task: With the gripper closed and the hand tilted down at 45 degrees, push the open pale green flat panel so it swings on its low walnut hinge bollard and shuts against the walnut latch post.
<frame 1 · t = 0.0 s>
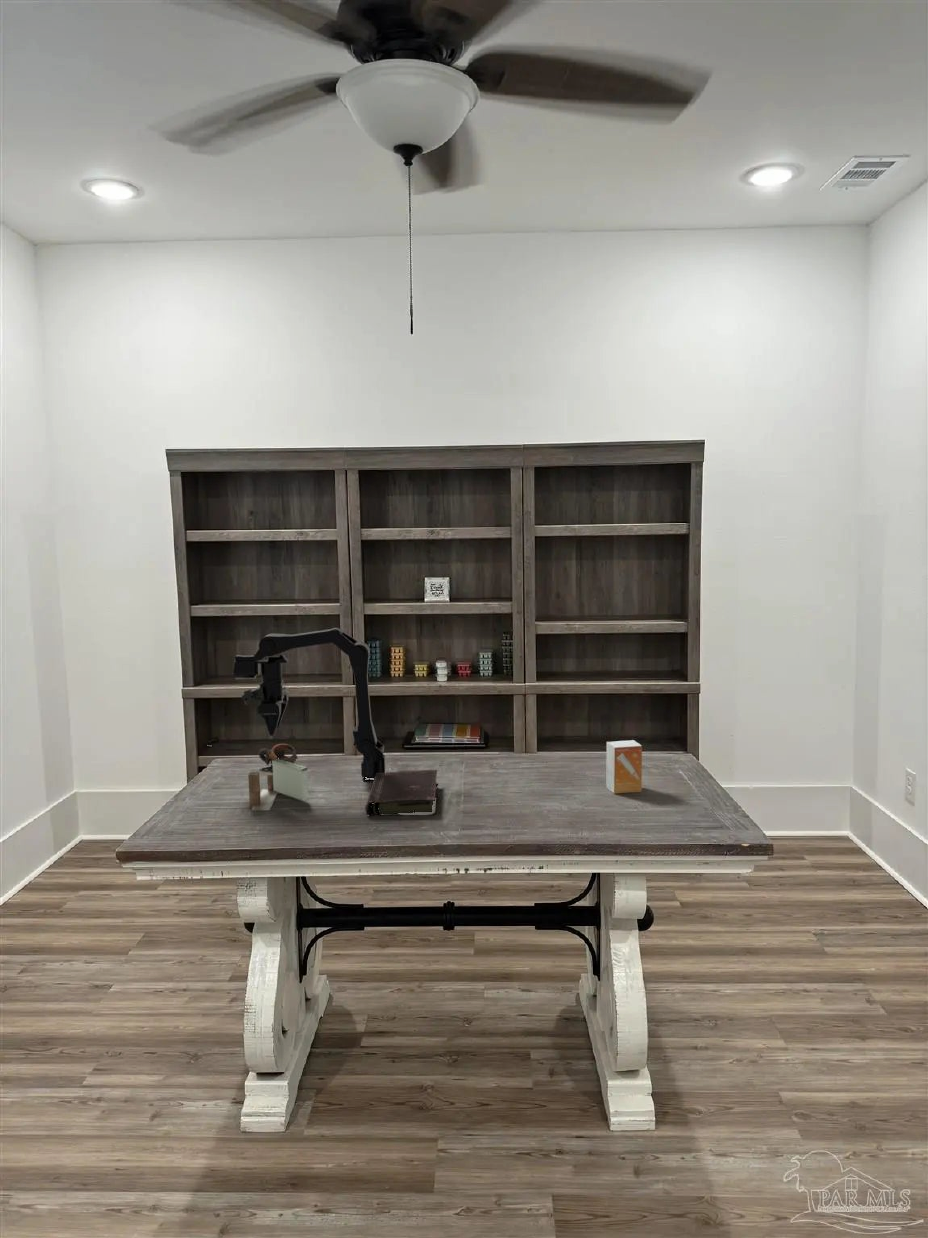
hand: (274, 731, 250), 15 cm above the table, tool pointing down, fingers open, 9 cm apart
small box: (623, 790, 239), on the table
gate frame: (272, 791, 242), on the table
brown looped band: (278, 768, 266), on the table
pale green flat panel: (290, 779, 236), point 5 cm above the table, hinge at 45.0°
diary: (404, 802, 233), on the table
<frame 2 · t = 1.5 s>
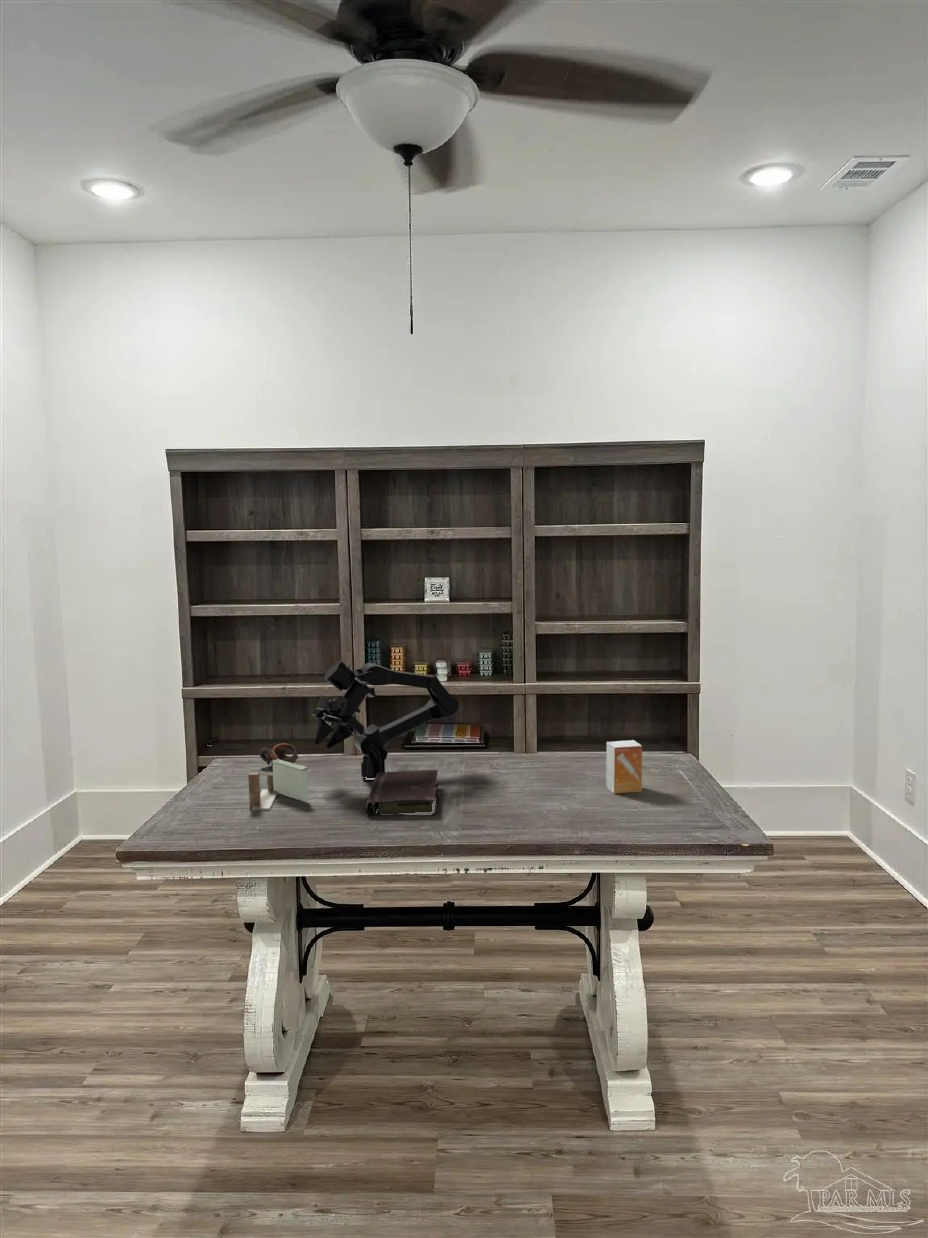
hand: (320, 746, 242), 13 cm above the table, tool tilted 45°, fingers open, 5 cm apart
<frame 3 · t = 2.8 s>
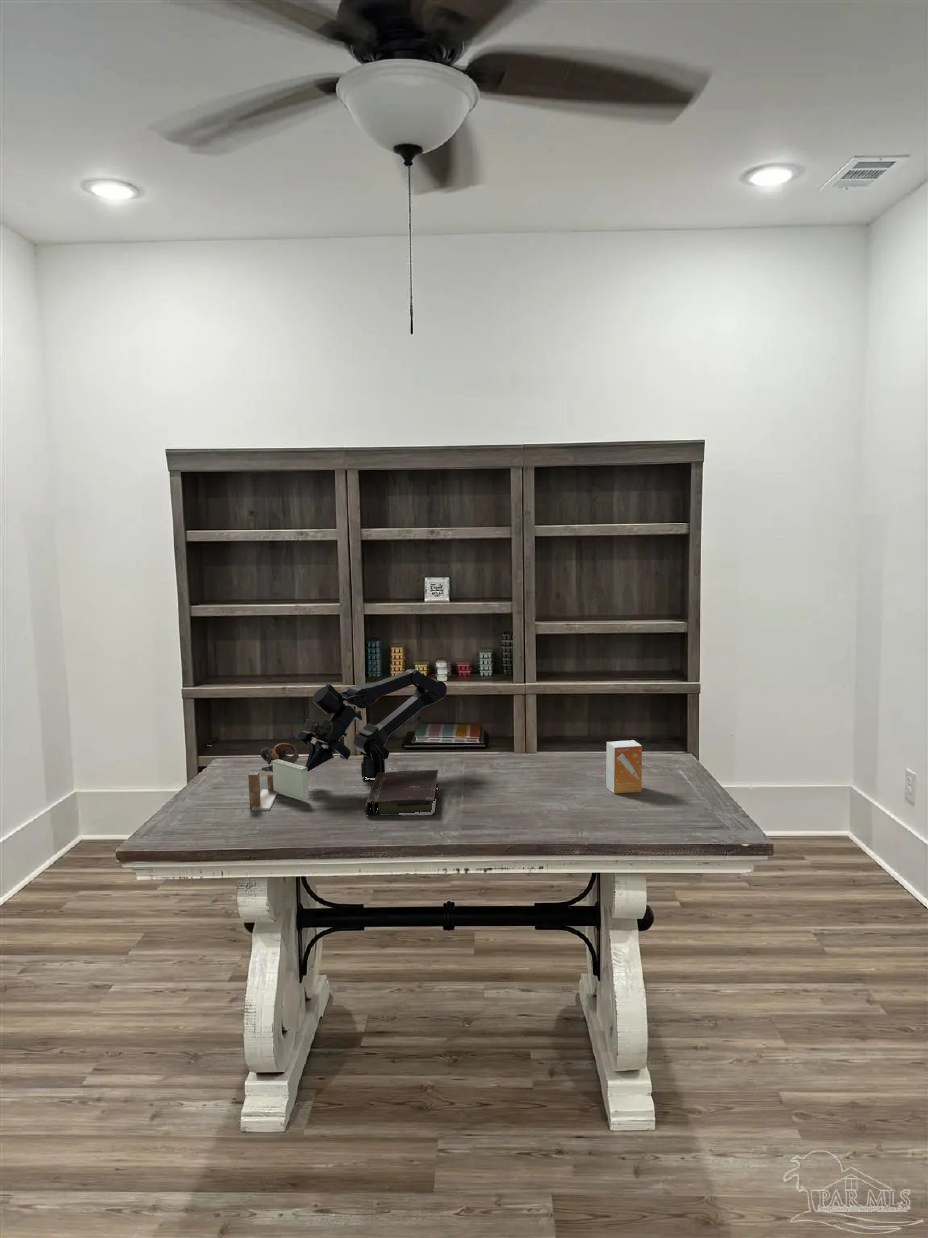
hand: (306, 770, 239), 7 cm above the table, tool tilted 45°, fingers closed
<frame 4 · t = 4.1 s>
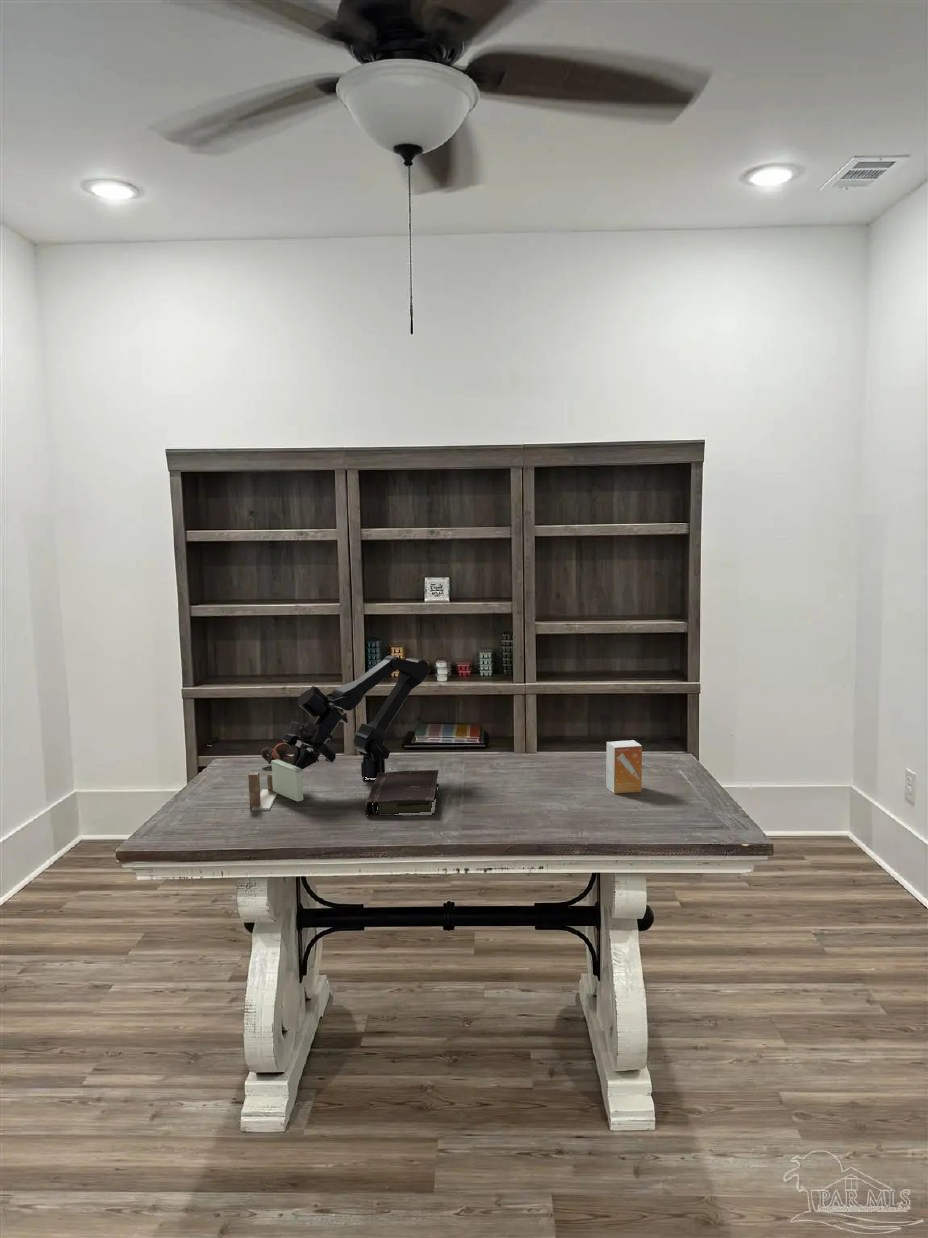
hand: (291, 774, 236), 7 cm above the table, tool tilted 45°, fingers closed, pressing on pale green flat panel
pale green flat panel: (287, 780, 235), point 5 cm above the table, hinge at 38.4°, touching gripper
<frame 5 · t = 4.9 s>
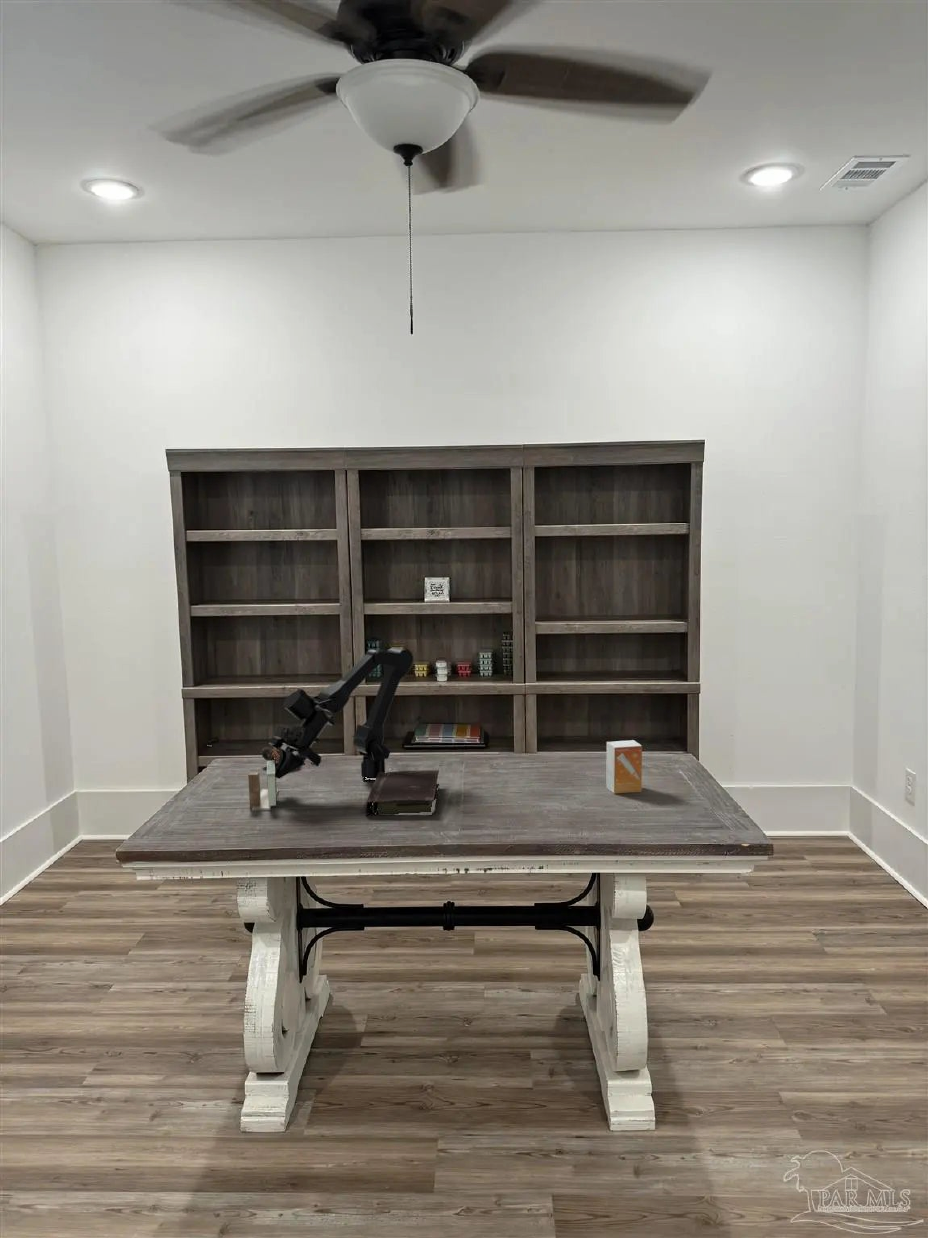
hand: (276, 777, 233), 7 cm above the table, tool tilted 45°, fingers closed
pale green flat panel: (271, 782, 233), point 5 cm above the table, hinge at 9.3°, touching gripper
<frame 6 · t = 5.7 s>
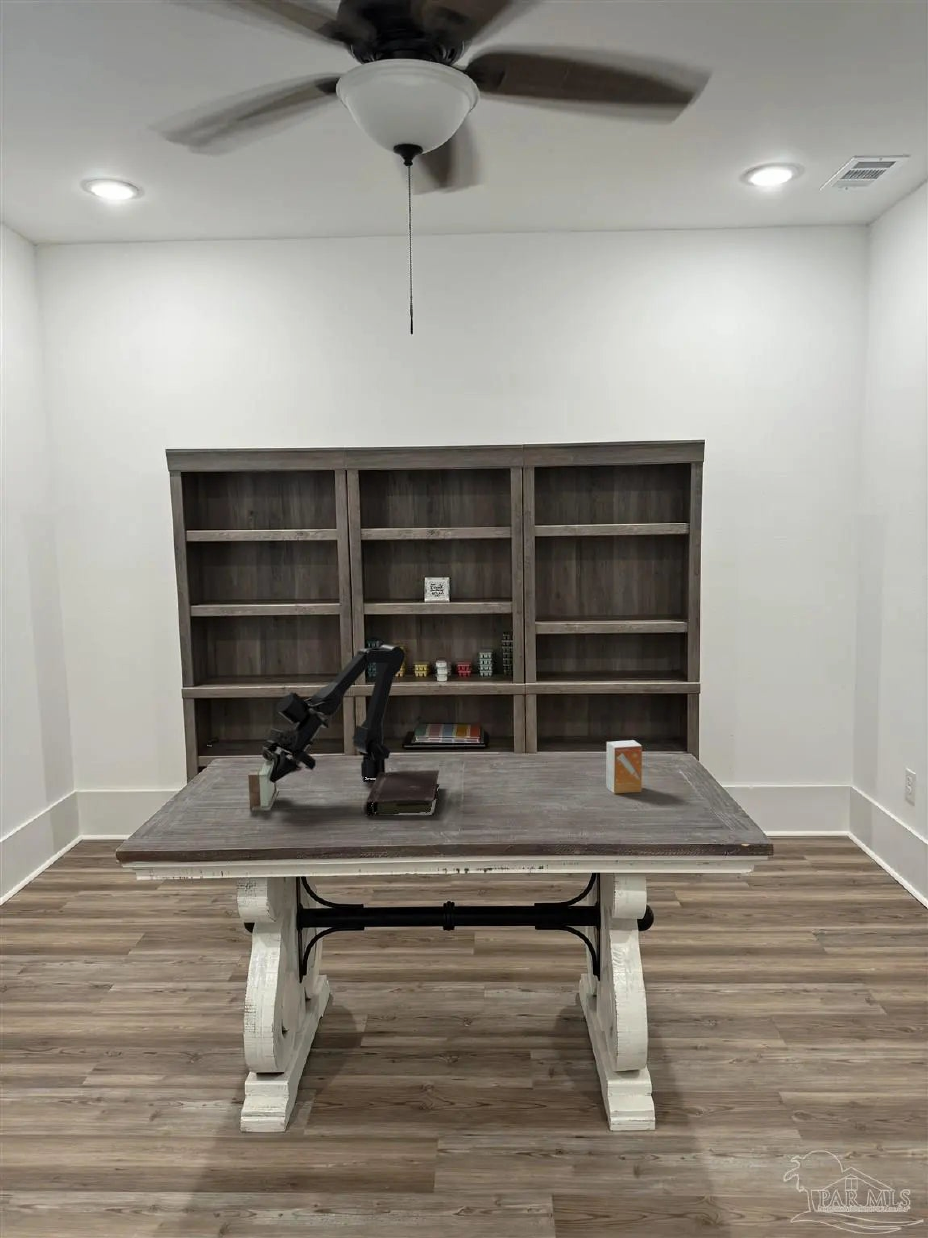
hand: (271, 781, 232), 6 cm above the table, tool tilted 45°, fingers closed
pale green flat panel: (267, 782, 233), point 5 cm above the table, hinge at 1.6°, touching gripper
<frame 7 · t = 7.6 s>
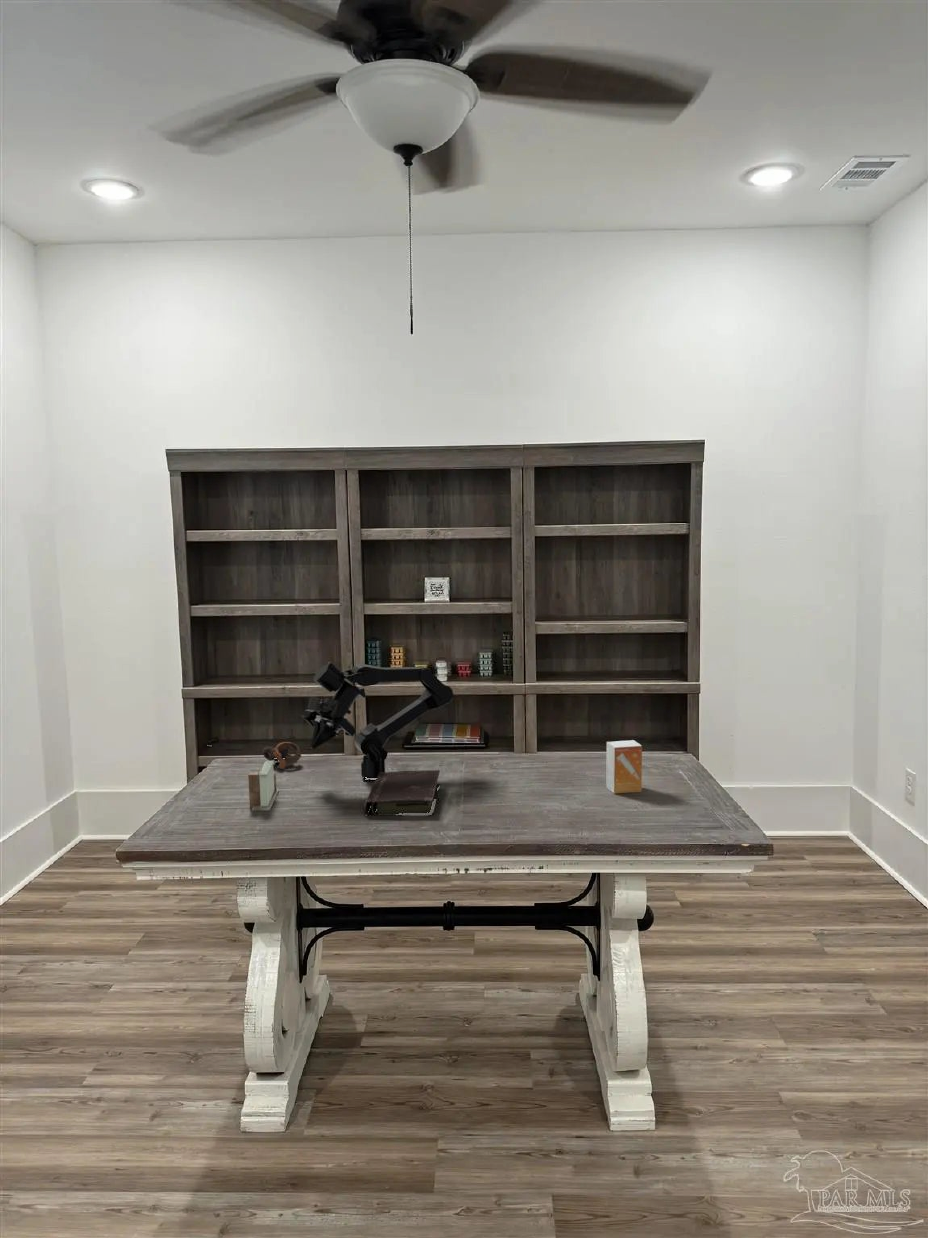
hand: (311, 748, 240), 12 cm above the table, tool tilted 45°, fingers closed
pale green flat panel: (267, 782, 233), point 5 cm above the table, hinge at 1.6°
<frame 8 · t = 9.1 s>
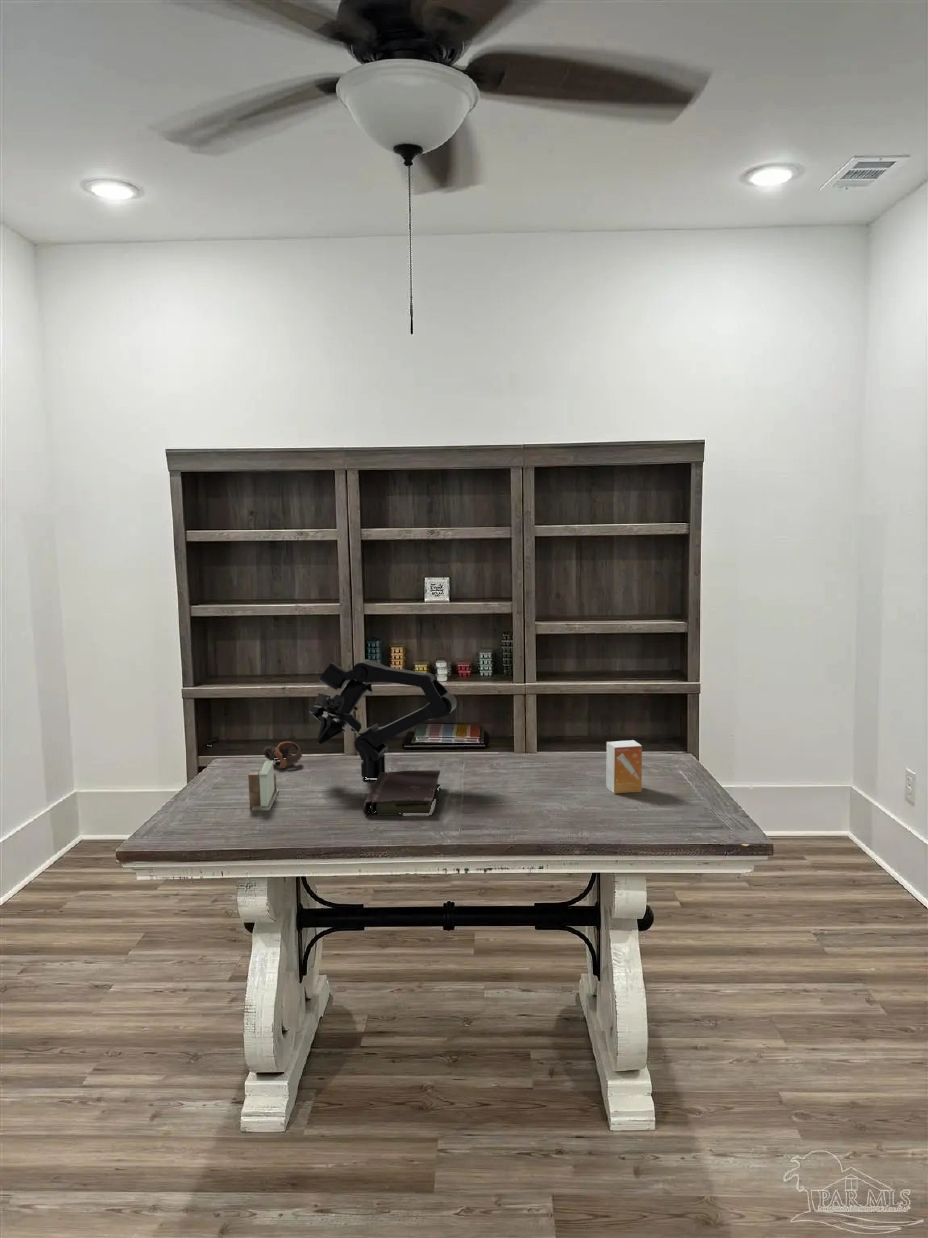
hand: (318, 743, 245), 13 cm above the table, tool tilted 45°, fingers closed
at the end: pale green flat panel at +2° (first picture: +45°) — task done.
